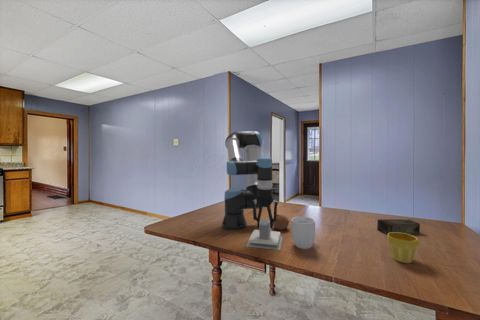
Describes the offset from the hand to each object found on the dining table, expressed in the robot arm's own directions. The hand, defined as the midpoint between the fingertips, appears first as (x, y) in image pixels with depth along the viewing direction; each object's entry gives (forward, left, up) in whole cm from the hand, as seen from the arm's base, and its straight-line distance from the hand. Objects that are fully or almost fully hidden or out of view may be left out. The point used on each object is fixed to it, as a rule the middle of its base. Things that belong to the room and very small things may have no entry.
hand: (265, 233), depth 111 cm
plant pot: (+58, -4, -4) cm, 58 cm away
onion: (+6, +20, -4) cm, 21 cm away
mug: (+19, 0, -4) cm, 20 cm away
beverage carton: (+70, +31, -5) cm, 76 cm away
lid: (0, 0, -2) cm, 2 cm away
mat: (0, 0, -4) cm, 4 cm away
